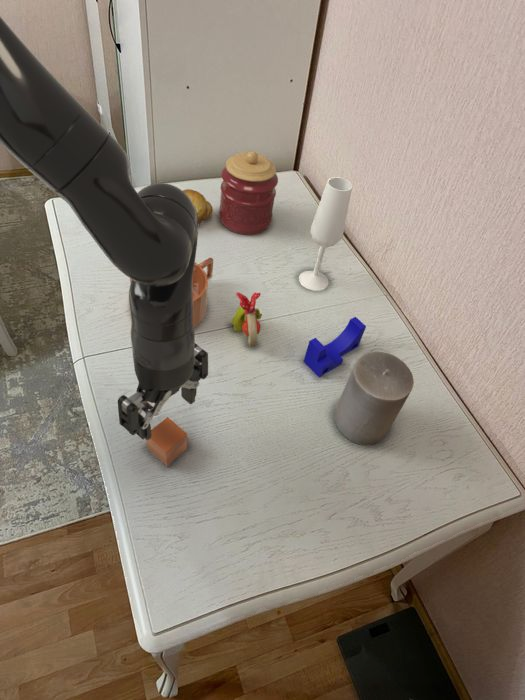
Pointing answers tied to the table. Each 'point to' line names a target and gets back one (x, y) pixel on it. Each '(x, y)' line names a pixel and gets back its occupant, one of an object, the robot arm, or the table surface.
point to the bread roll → (199, 204)
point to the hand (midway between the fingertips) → (166, 417)
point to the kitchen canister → (247, 193)
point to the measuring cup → (200, 289)
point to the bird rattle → (248, 318)
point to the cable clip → (333, 348)
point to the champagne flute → (328, 227)
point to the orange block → (167, 441)
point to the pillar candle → (373, 397)
